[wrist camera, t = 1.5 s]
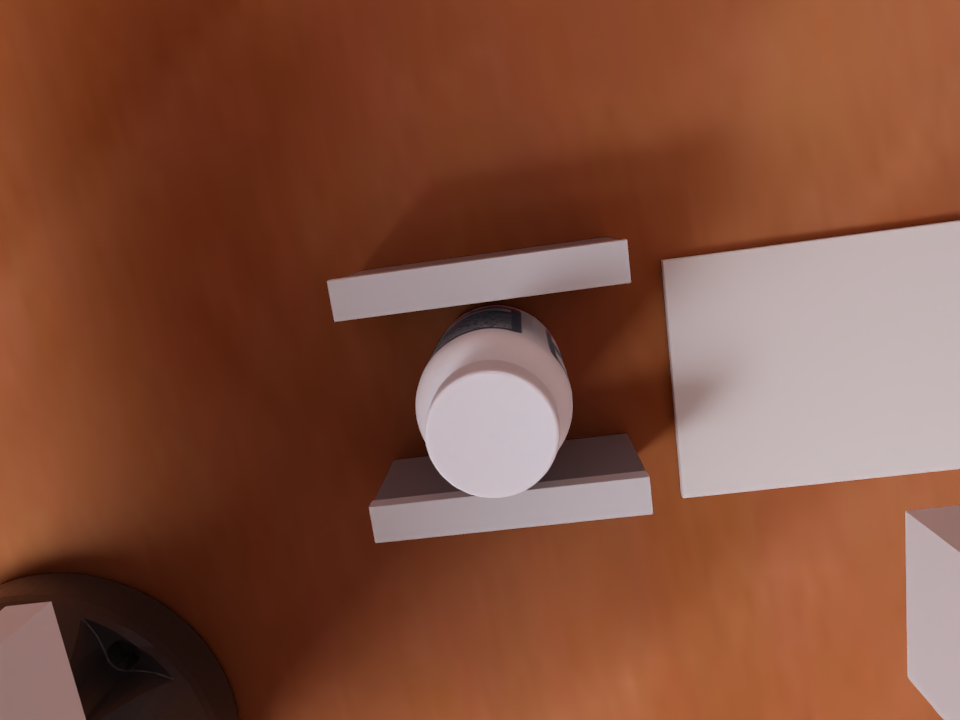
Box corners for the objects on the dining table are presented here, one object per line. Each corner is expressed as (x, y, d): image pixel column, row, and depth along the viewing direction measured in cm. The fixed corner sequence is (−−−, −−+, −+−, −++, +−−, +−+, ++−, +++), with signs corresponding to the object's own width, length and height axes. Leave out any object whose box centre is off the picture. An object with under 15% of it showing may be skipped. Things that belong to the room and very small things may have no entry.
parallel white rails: (398, 487, 30) (375, 543, 25) (360, 268, 28) (326, 280, 23) (630, 462, 29) (652, 513, 24) (607, 233, 27) (627, 239, 22)
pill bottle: (411, 382, 29) (365, 455, 20) (480, 279, 28) (462, 309, 19) (515, 450, 29) (514, 550, 21) (587, 351, 28) (617, 413, 20)
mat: (680, 494, 29) (683, 498, 29) (660, 259, 27) (663, 260, 27) (1078, 451, 28) (1086, 455, 28) (1088, 202, 26) (1097, 202, 26)
